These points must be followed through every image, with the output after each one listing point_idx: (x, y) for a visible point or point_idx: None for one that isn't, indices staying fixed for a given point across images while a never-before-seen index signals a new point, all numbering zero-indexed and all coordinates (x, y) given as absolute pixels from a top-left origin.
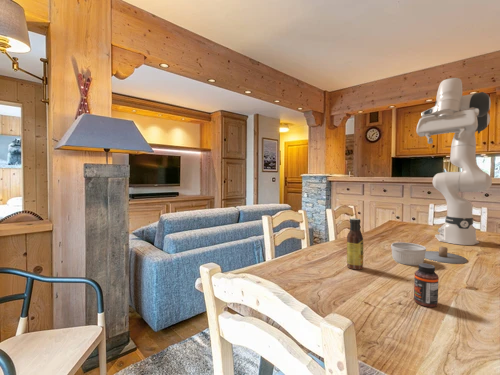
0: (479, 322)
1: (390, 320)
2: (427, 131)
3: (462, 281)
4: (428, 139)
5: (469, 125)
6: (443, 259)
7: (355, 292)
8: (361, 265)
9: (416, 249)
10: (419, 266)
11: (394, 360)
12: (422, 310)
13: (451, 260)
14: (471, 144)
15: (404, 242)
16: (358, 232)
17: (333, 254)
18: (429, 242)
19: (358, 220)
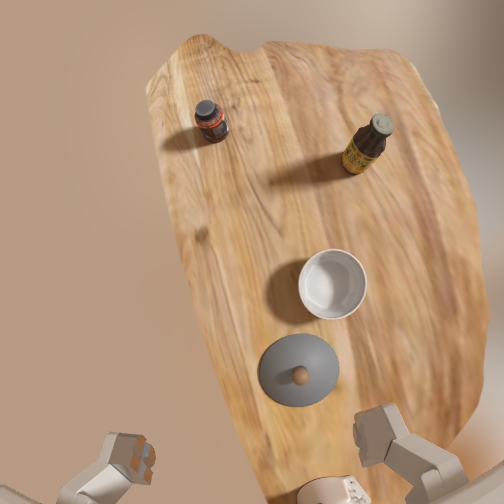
0: (165, 139)
1: (219, 74)
2: (454, 491)
3: (220, 254)
4: (395, 424)
5: (16, 492)
6: (289, 351)
7: (282, 90)
8: (342, 159)
9: (328, 313)
10: (211, 101)
11: (190, 44)
12: None
13: (277, 357)
14: None
15: (354, 309)
16: (363, 132)
17: (425, 196)
18: None
19: (371, 121)
